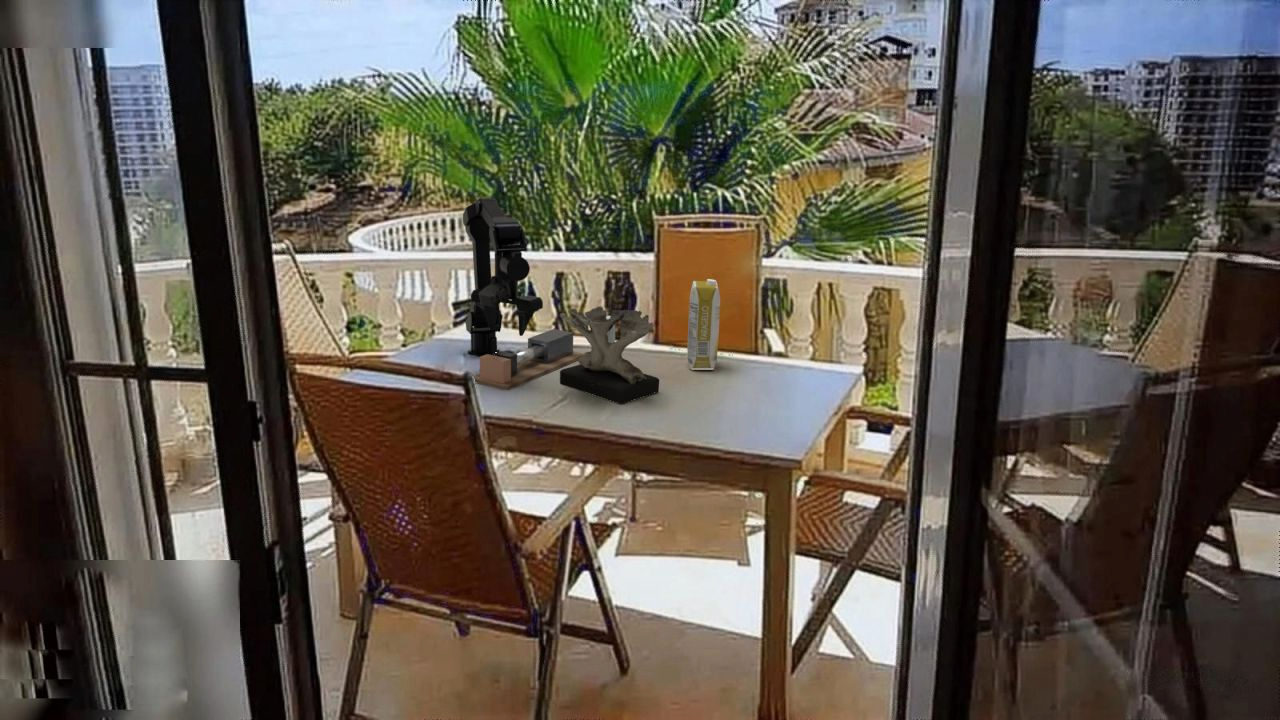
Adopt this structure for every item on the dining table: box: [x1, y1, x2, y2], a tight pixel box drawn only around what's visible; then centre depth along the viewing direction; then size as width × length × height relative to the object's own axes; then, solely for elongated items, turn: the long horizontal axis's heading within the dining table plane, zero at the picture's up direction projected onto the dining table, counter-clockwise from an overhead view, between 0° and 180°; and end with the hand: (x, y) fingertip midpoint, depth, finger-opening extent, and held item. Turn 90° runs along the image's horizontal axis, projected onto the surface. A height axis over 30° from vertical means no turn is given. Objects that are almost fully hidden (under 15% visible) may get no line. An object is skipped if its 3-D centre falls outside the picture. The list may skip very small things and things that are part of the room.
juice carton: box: [686, 278, 721, 370], centre depth 271 cm, size 9×8×24 cm
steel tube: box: [493, 344, 544, 376], centre depth 264 cm, size 21×5×5 cm, turn 150°
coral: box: [559, 305, 660, 405], centre depth 249 cm, size 25×20×22 cm
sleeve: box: [527, 328, 574, 364], centre depth 275 cm, size 12×6×6 cm, turn 150°
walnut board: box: [473, 350, 585, 391], centre depth 268 cm, size 35×12×1 cm, turn 150°
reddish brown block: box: [479, 354, 511, 383], centre depth 255 cm, size 3×7×6 cm, turn 60°
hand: (506, 332), depth 257 cm, fingers open, 9 cm apart
